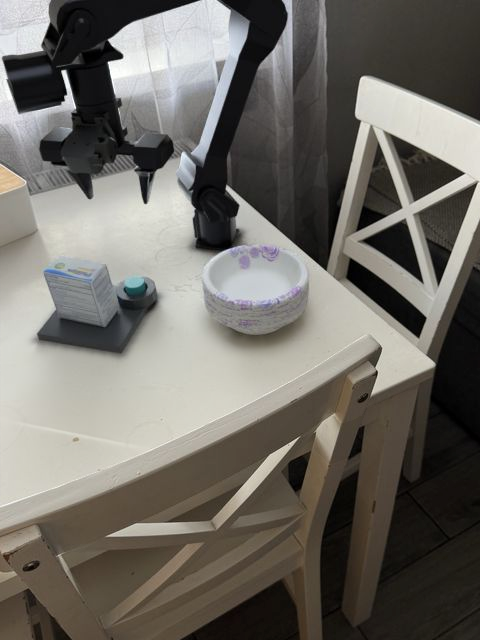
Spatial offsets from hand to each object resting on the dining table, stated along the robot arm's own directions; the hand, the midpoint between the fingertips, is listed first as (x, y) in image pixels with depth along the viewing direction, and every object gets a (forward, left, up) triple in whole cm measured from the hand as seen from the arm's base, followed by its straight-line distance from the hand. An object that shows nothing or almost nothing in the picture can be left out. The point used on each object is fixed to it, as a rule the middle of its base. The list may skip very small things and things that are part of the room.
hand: (118, 200), depth 92 cm
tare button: (-5, +10, -9) cm, 14 cm away
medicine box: (0, +15, -11) cm, 19 cm away
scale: (-1, +14, -12) cm, 18 cm away
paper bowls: (-24, +8, -12) cm, 28 cm away
